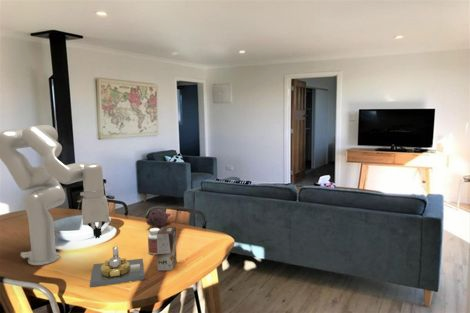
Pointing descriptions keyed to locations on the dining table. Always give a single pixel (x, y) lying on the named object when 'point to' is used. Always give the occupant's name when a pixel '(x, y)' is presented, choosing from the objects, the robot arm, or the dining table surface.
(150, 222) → the pine cone
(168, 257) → the coffee box
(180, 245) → the dining table surface
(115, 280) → the plate
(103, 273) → the gold ring
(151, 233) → the pill bottle
